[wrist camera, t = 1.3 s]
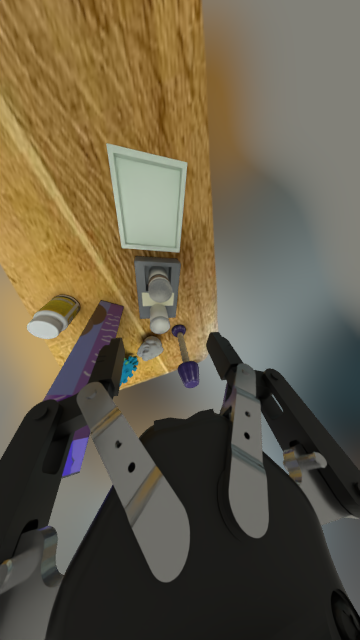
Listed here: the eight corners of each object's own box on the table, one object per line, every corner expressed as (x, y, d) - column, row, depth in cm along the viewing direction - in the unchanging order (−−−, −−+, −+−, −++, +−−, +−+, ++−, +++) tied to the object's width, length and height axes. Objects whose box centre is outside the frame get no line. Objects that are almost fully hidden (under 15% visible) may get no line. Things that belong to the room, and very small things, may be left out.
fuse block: (135, 255, 25) (131, 271, 17) (176, 258, 26) (188, 273, 19) (140, 309, 32) (138, 335, 24) (172, 308, 34) (180, 333, 26)
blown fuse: (147, 264, 25) (147, 279, 18) (166, 265, 26) (173, 280, 19) (148, 282, 27) (148, 302, 21) (165, 283, 28) (171, 302, 21)
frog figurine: (138, 330, 36) (137, 350, 30) (163, 331, 38) (166, 349, 32) (138, 345, 39) (136, 365, 34) (160, 345, 41) (163, 364, 36)
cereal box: (101, 300, 29) (14, 449, 10) (123, 306, 30) (87, 440, 12) (93, 351, 37) (38, 483, 18) (111, 353, 39) (78, 474, 20)
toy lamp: (170, 336, 40) (181, 392, 27) (169, 324, 37) (181, 381, 24) (185, 334, 40) (203, 387, 27) (185, 322, 37) (205, 376, 24)
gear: (139, 373, 45) (112, 395, 37) (127, 365, 48) (100, 384, 40) (140, 349, 40) (110, 369, 32) (127, 341, 43) (96, 357, 35)
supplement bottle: (47, 296, 26) (14, 321, 19) (72, 292, 26) (48, 316, 20) (62, 315, 29) (37, 343, 22) (85, 311, 29) (67, 337, 23)
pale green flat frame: (110, 150, 17) (106, 143, 15) (184, 167, 19) (187, 162, 17) (123, 246, 23) (121, 247, 22) (177, 250, 26) (179, 252, 24)
